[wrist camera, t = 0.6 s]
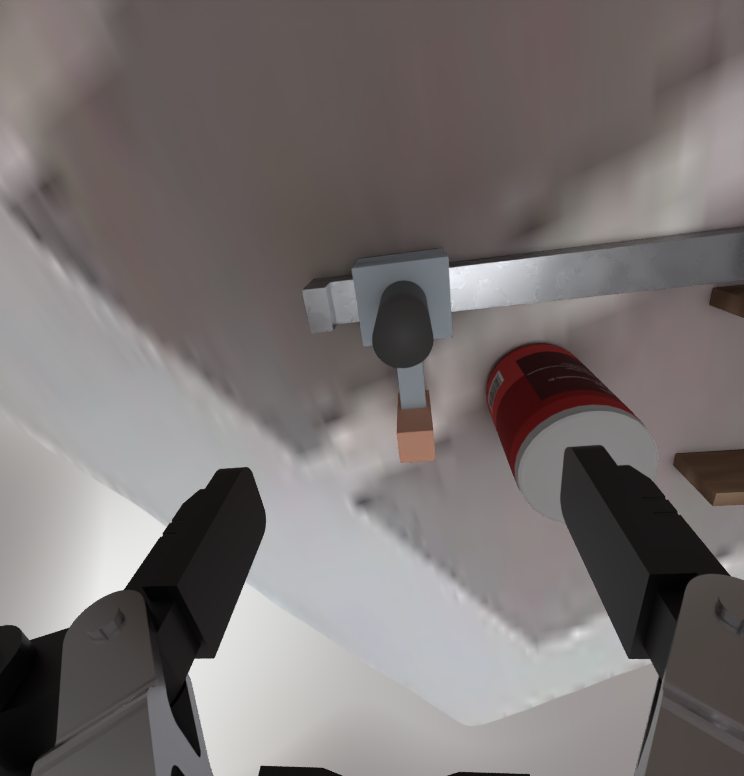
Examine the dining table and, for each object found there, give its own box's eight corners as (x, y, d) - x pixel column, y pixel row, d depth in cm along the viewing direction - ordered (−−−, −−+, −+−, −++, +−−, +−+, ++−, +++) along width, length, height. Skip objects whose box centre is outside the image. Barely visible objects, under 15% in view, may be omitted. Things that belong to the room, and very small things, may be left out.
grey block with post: (357, 258, 29) (333, 294, 19) (443, 248, 28) (462, 279, 18) (380, 414, 34) (369, 504, 25) (452, 409, 34) (470, 499, 24)
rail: (313, 279, 30) (301, 290, 27) (763, 224, 26) (813, 228, 23) (320, 318, 32) (310, 333, 28) (751, 270, 28) (797, 281, 25)
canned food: (507, 442, 35) (546, 541, 25) (467, 368, 32) (493, 446, 23) (596, 405, 33) (678, 497, 23) (562, 322, 30) (637, 386, 20)
